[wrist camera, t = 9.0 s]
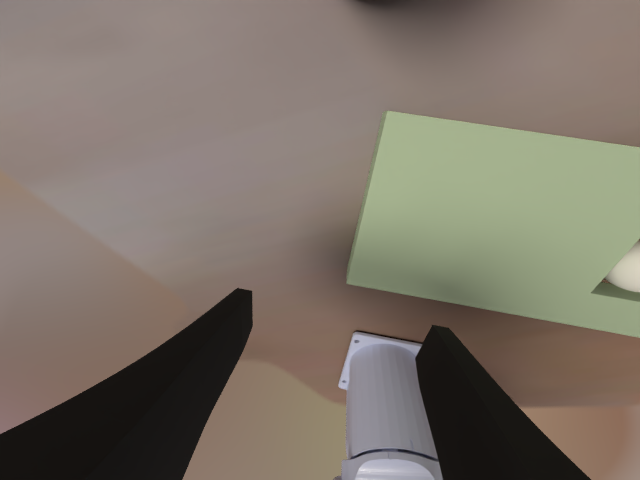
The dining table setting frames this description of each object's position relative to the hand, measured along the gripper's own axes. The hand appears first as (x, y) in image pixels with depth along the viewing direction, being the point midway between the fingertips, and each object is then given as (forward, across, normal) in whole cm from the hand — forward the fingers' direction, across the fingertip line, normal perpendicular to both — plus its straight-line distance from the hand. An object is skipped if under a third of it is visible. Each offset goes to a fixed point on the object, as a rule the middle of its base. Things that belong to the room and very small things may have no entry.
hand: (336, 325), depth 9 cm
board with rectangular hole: (+10, -13, -2) cm, 16 cm away
